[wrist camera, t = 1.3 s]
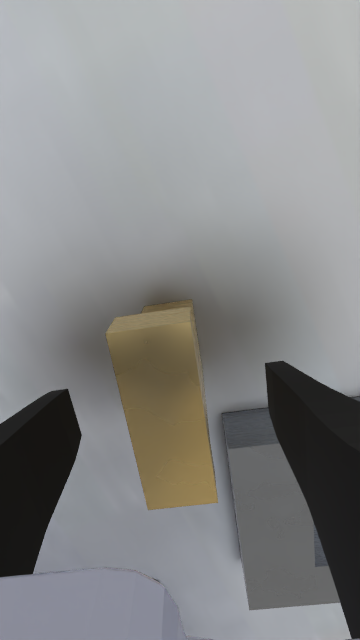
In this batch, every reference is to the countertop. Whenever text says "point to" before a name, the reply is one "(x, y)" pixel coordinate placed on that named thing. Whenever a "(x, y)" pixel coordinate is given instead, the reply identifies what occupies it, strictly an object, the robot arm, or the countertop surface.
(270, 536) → the metal plate with slot
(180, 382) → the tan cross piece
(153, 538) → the countertop surface
